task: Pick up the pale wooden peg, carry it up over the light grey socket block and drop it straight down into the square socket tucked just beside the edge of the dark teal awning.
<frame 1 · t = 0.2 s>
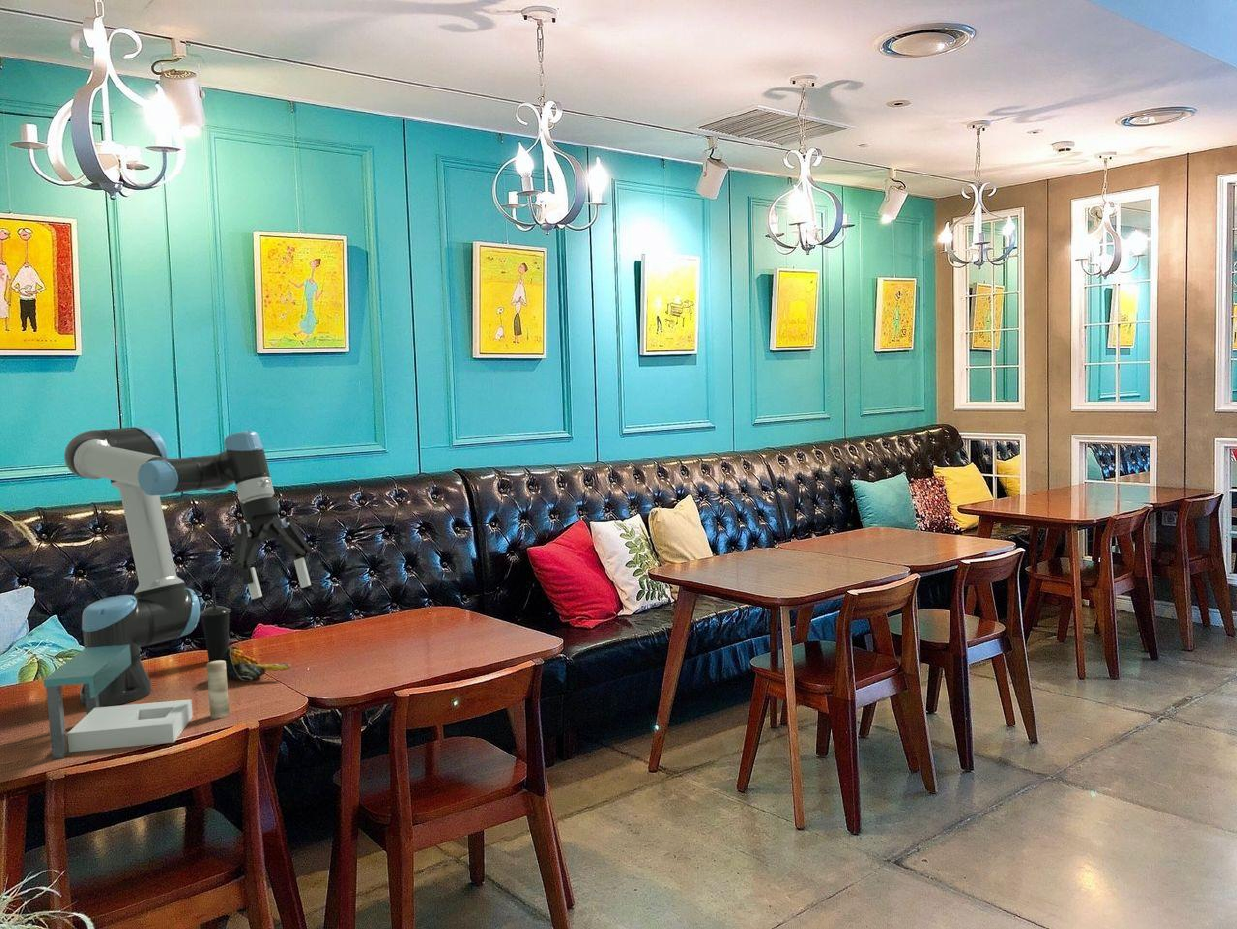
hand: (282, 592, 217), 27 cm above the table, tool tilted 15°, fingers open, 13 cm apart
drinking cup: (218, 662, 263), on the table
wooden peg: (220, 715, 219), on the table
awning: (95, 737, 208), on the table
fried food: (252, 680, 246), on the table
socket block: (133, 733, 209), on the table
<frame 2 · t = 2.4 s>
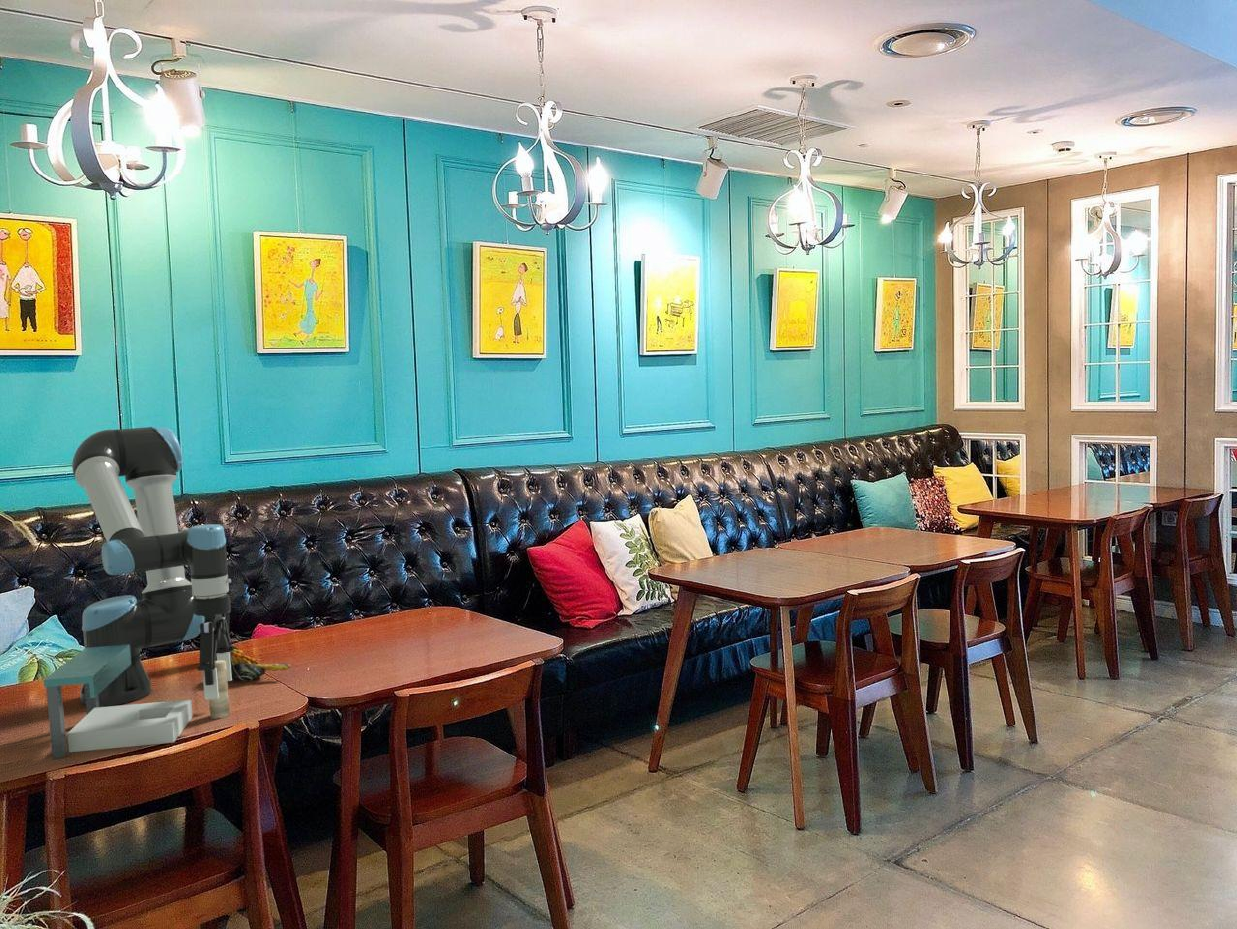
hand: (218, 689, 218), 6 cm above the table, tool pointing down, fingers open, 13 cm apart
nothing on the table moved.
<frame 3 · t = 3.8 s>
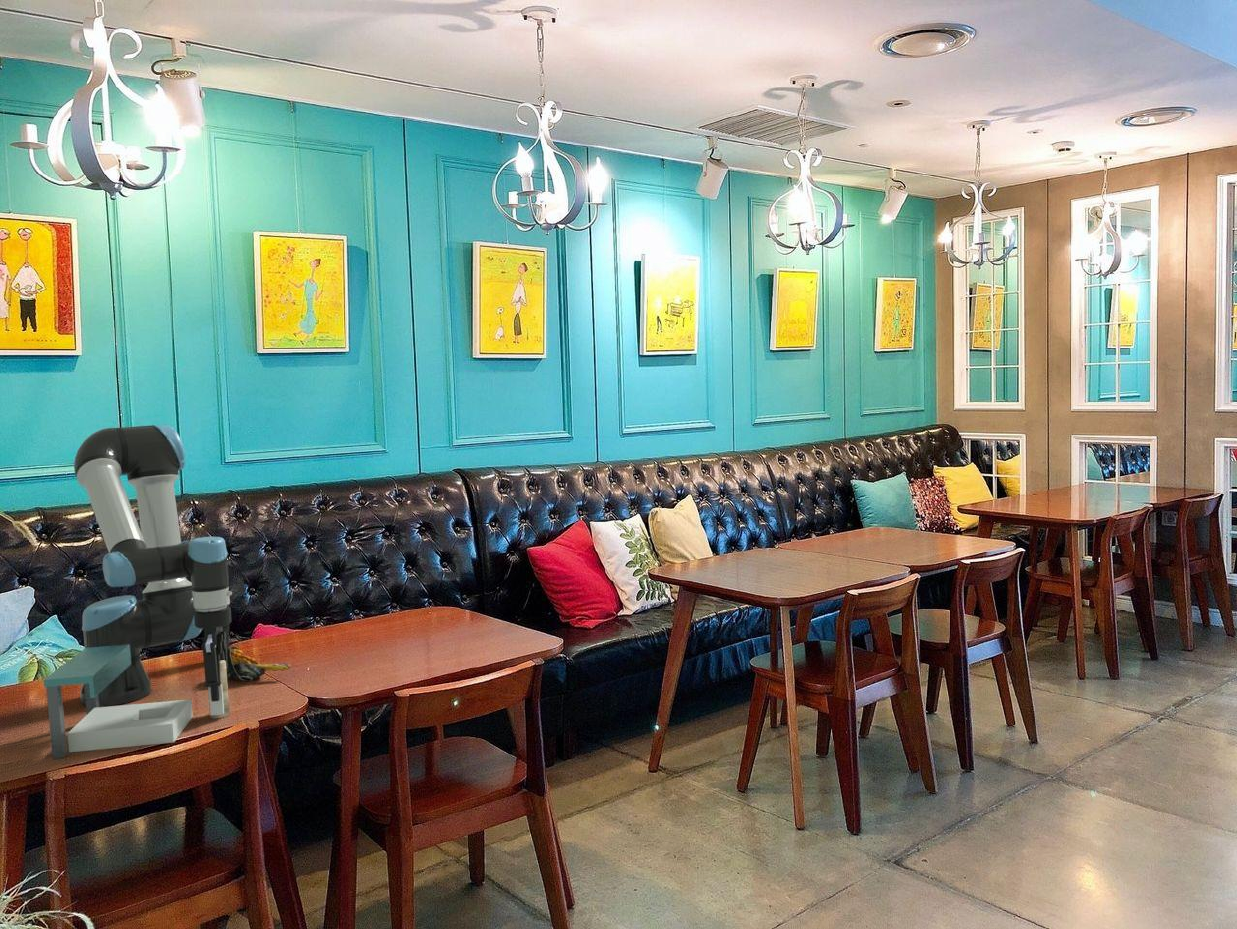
hand: (219, 710, 219), 1 cm above the table, tool pointing down, fingers closed on wooden peg, 4 cm apart
wooden peg: (220, 715, 219), on the table, touching gripper
everything else where it was.
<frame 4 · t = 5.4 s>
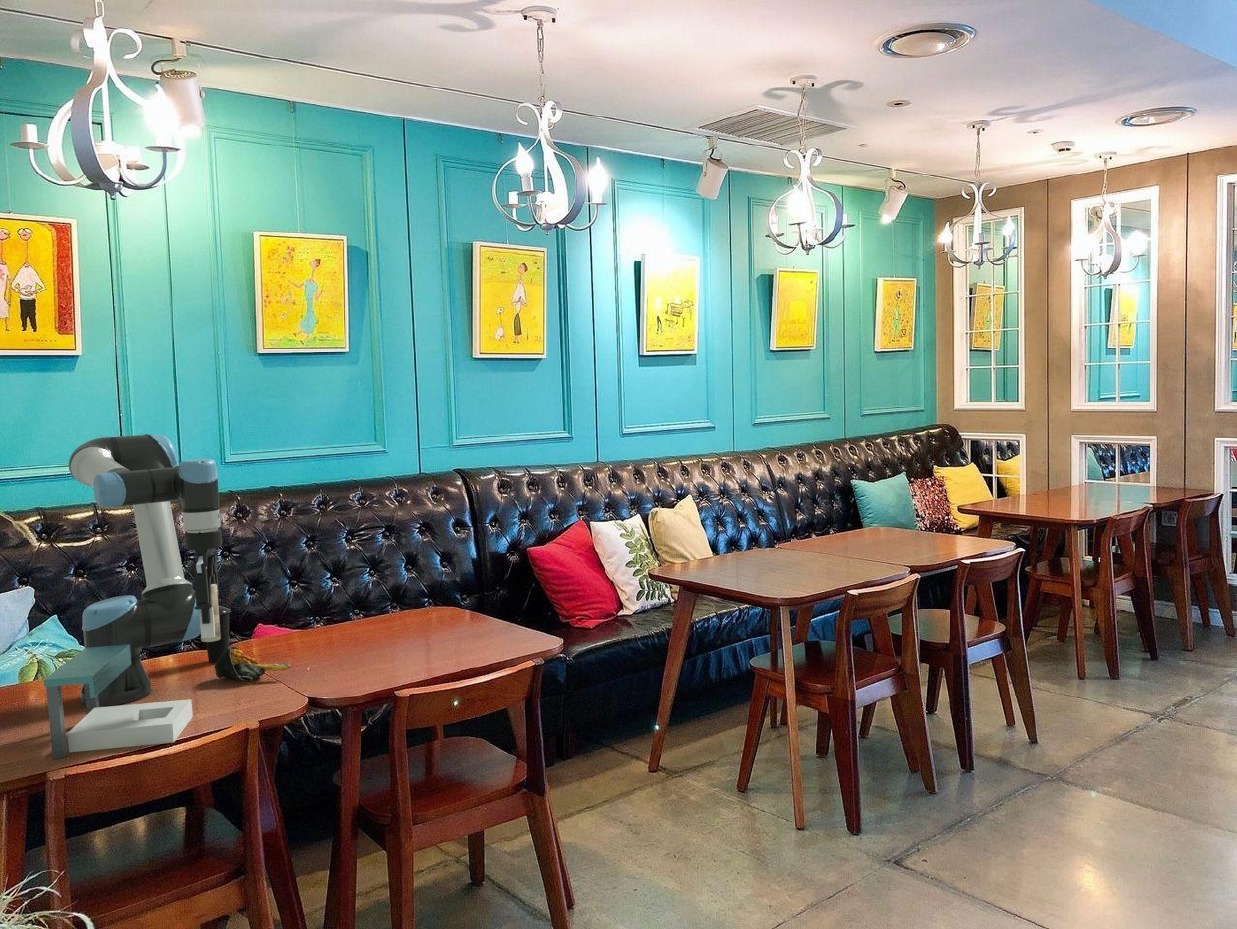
hand: (210, 634, 217), 19 cm above the table, tool pointing down, fingers closed on wooden peg, 4 cm apart
wooden peg: (211, 639, 217), point 17 cm above the table, touching gripper
everything else where it was.
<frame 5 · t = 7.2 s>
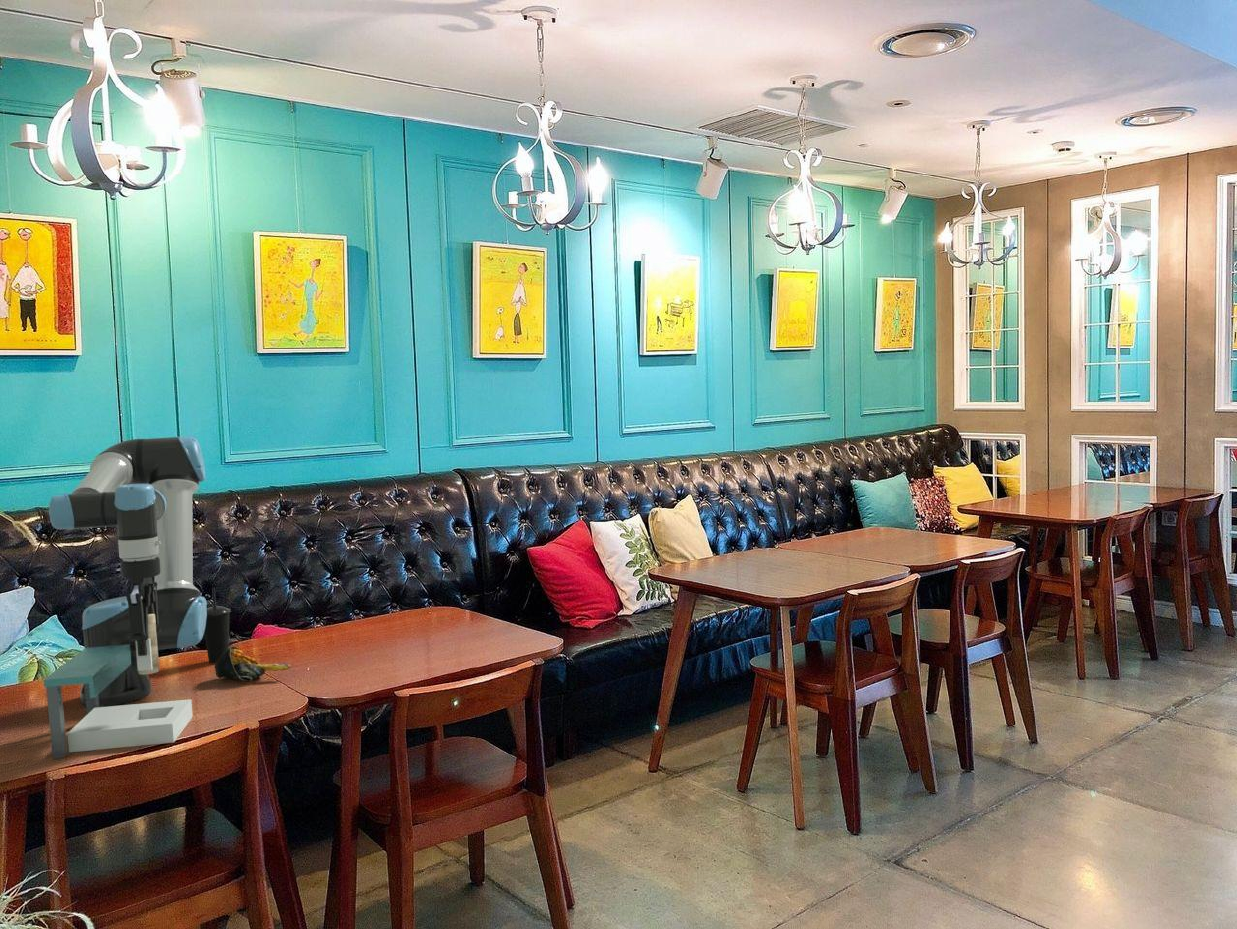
hand: (148, 666, 209), 14 cm above the table, tool pointing down, fingers closed on wooden peg, 4 cm apart
wooden peg: (148, 671, 209), point 13 cm above the table, touching gripper
everything else where it was.
when the fingers open (6 cm above the table, at t = 9.3 s): wooden peg drops 2 cm, resting on socket block.
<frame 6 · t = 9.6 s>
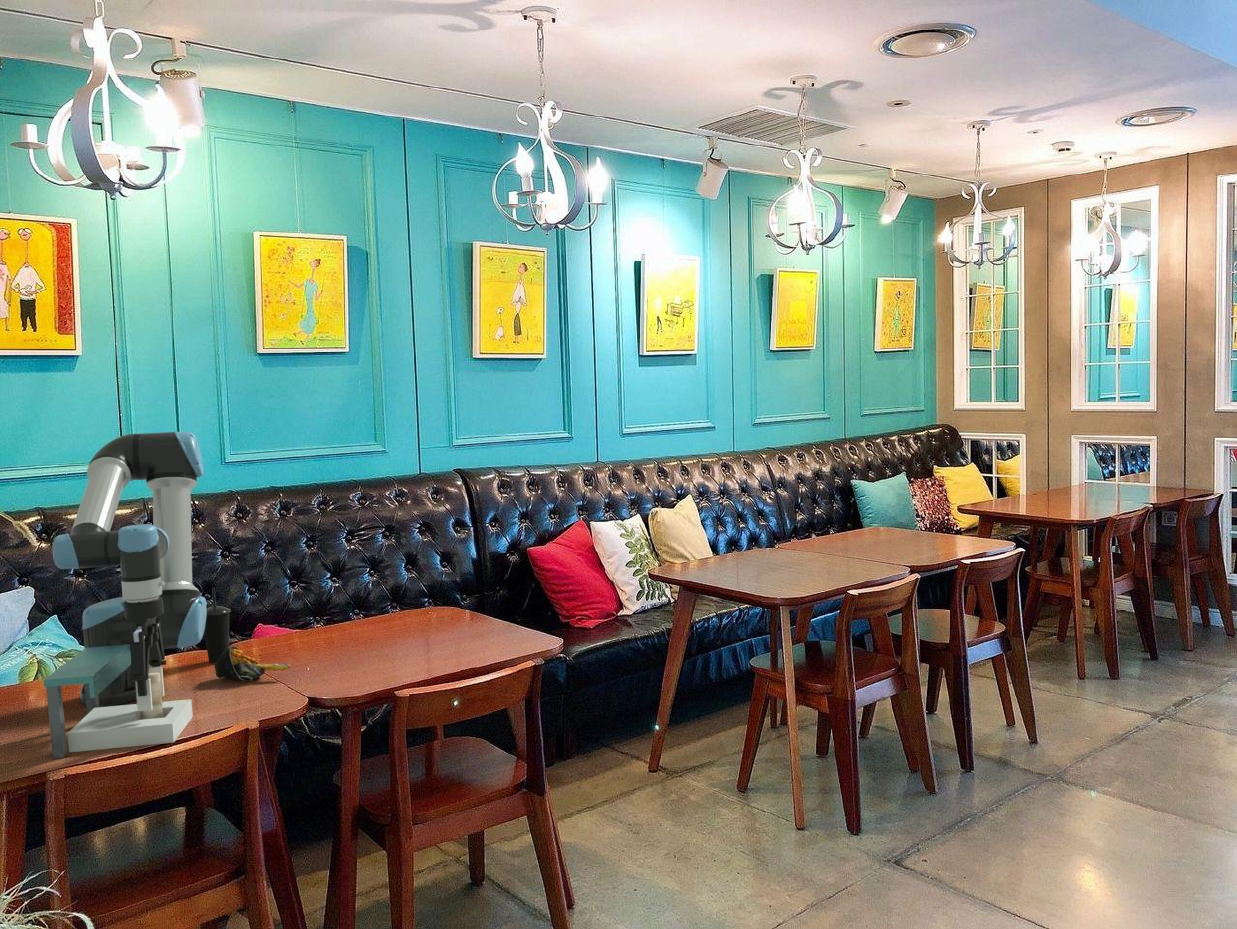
hand: (151, 703, 209), 6 cm above the table, tool pointing down, fingers open, 8 cm apart
wooden peg: (153, 730, 210), resting on socket block
everything else where it was.
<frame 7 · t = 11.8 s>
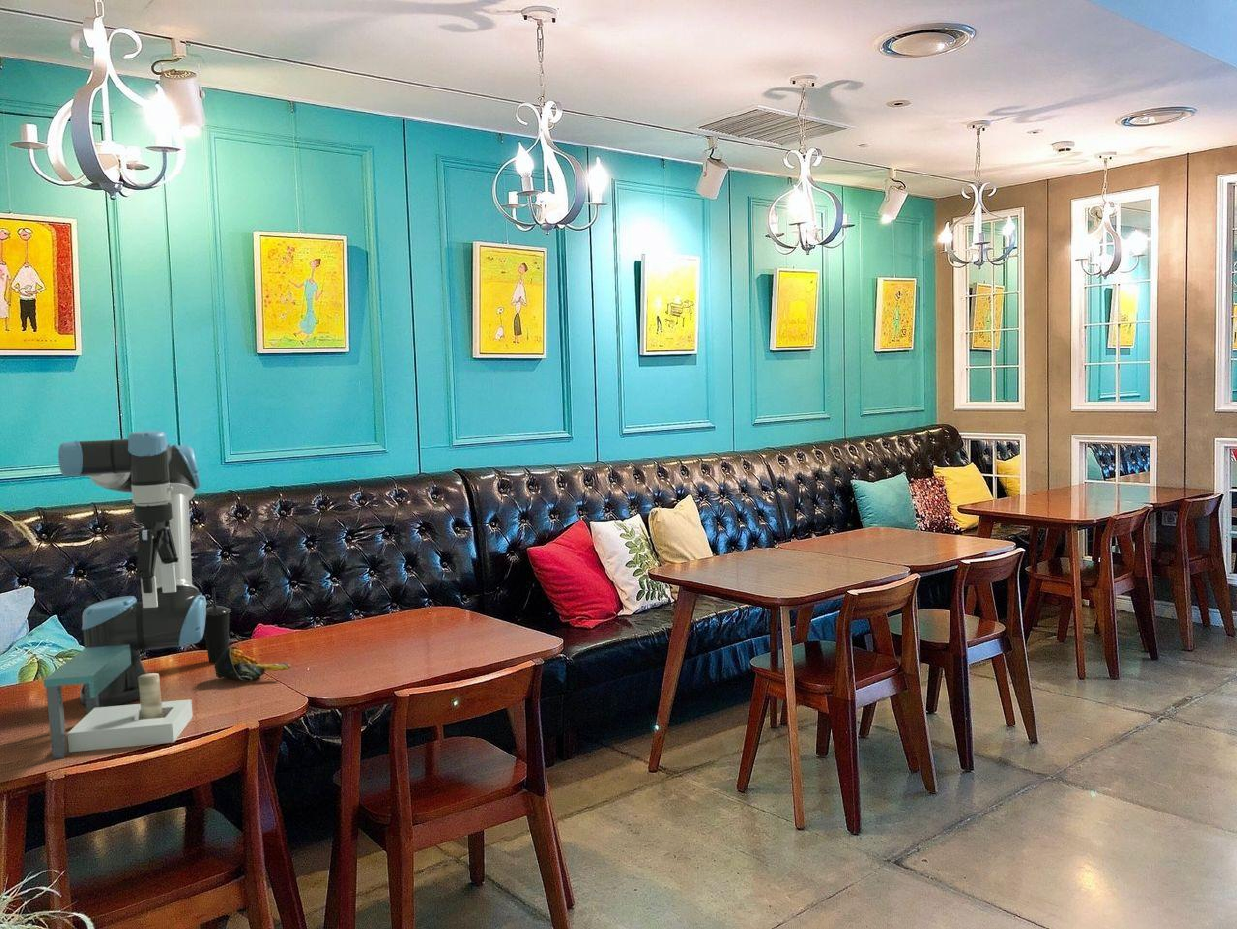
hand: (160, 599, 214), 27 cm above the table, tool pointing down, fingers open, 13 cm apart
nothing on the table moved.
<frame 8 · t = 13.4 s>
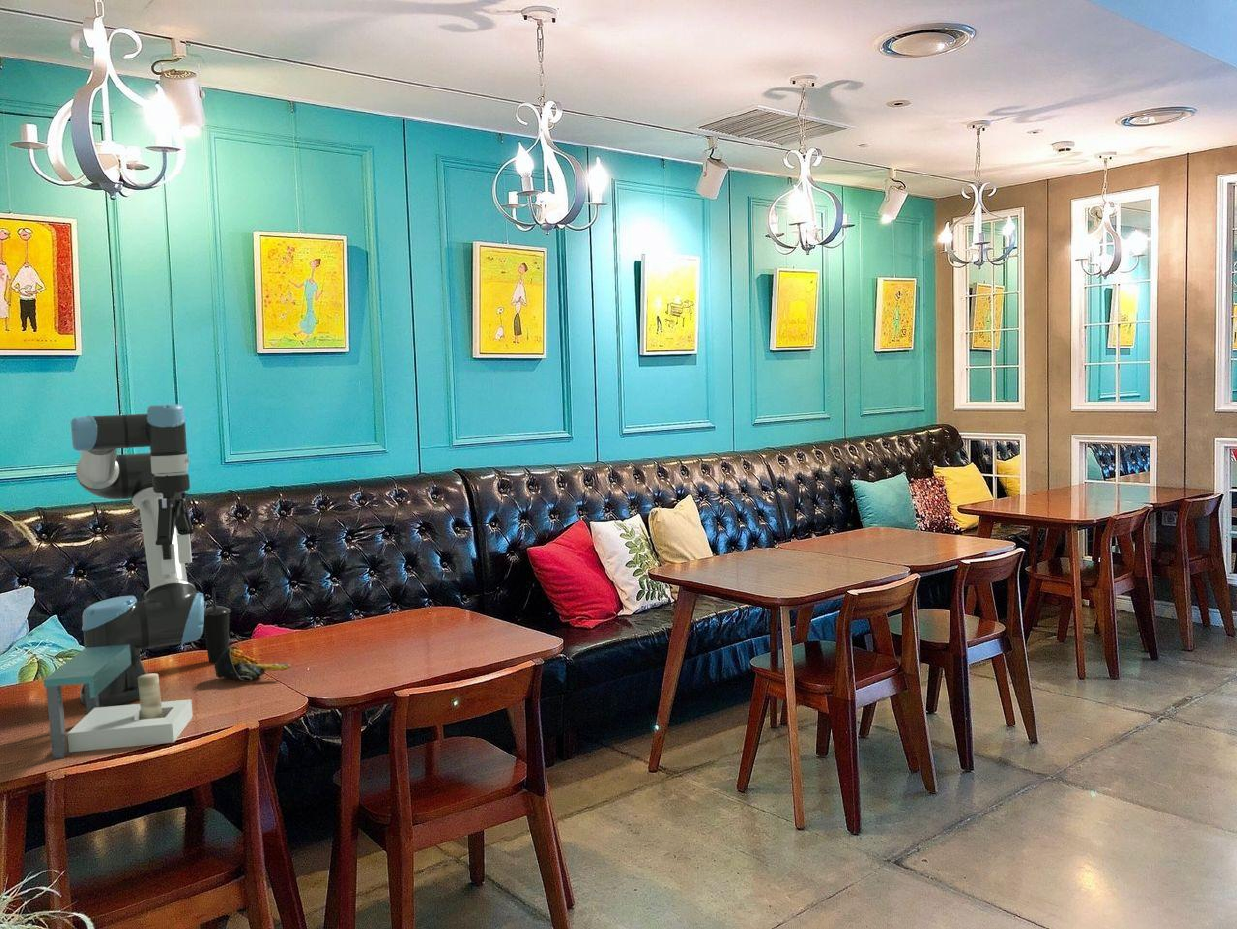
hand: (177, 568, 221), 33 cm above the table, tool pointing down, fingers open, 13 cm apart
nothing on the table moved.
at the end: wooden peg 0.1 cm from the target spot on the socket block, point 0.3 cm above the socket block's base; wooden peg tilted 2°; the gripper is holding nothing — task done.
